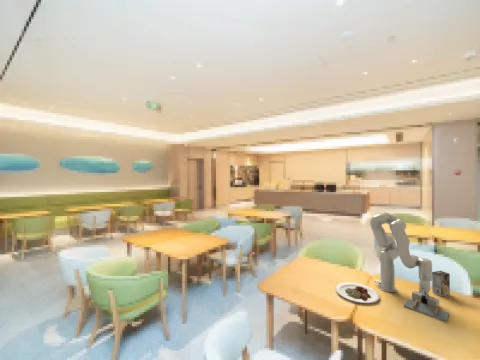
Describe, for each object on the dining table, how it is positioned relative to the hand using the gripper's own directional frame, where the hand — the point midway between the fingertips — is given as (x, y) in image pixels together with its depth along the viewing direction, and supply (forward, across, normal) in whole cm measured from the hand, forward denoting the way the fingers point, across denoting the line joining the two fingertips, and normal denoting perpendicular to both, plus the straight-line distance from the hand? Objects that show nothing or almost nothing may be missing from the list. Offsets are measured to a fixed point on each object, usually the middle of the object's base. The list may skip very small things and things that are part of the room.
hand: (425, 301), depth 161 cm
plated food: (+1, +22, -38) cm, 44 cm away
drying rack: (+1, +11, +2) cm, 11 cm away
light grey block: (+1, 0, 0) cm, 1 cm away
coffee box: (+1, -23, +6) cm, 24 cm away
